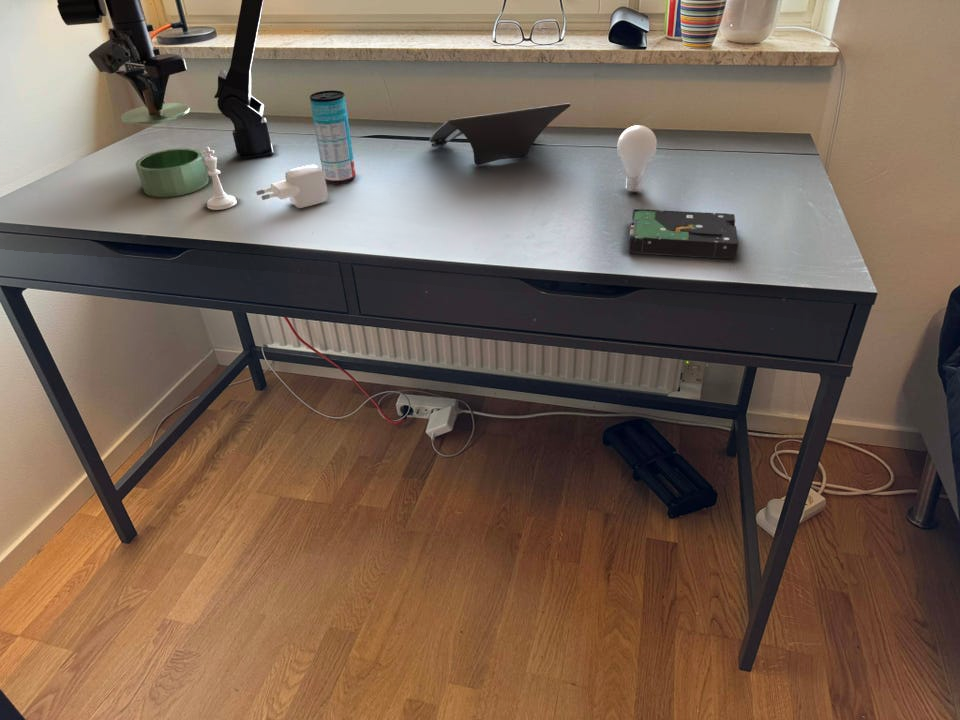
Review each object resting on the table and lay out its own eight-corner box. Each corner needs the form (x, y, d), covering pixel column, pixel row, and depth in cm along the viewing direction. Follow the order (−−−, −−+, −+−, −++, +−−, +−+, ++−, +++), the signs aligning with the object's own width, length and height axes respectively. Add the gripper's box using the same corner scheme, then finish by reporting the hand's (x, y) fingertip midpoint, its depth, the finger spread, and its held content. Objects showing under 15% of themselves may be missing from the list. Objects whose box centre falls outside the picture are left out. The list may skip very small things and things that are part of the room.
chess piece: (210, 199, 126) (195, 143, 121) (239, 197, 127) (225, 141, 121) (204, 210, 122) (188, 152, 117) (233, 208, 123) (219, 150, 117)
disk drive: (731, 230, 108) (630, 224, 111) (734, 213, 106) (632, 207, 109) (736, 261, 100) (627, 254, 103) (739, 243, 98) (629, 236, 101)
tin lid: (171, 105, 146) (164, 79, 144) (202, 115, 139) (195, 87, 136) (111, 120, 139) (102, 92, 136) (141, 131, 132) (132, 103, 129)
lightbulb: (654, 186, 123) (661, 121, 117) (649, 200, 118) (656, 133, 112) (617, 183, 125) (622, 119, 119) (610, 197, 120) (615, 131, 114)
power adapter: (268, 219, 118) (260, 185, 115) (258, 210, 122) (250, 176, 118) (331, 202, 123) (325, 169, 120) (320, 194, 126) (314, 161, 123)
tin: (189, 170, 140) (182, 144, 137) (220, 183, 133) (213, 156, 130) (133, 187, 133) (124, 161, 130) (162, 202, 126) (154, 174, 124)
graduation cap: (534, 163, 152) (527, 118, 150) (577, 143, 130) (569, 90, 128) (428, 179, 146) (420, 133, 145) (455, 162, 124) (445, 107, 123)
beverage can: (362, 175, 133) (350, 91, 125) (344, 186, 129) (331, 100, 120) (335, 171, 135) (322, 89, 127) (317, 182, 131) (302, 98, 123)
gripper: (57, 25, 128) (88, 114, 137) (120, 32, 120) (149, 127, 129) (112, 14, 136) (138, 99, 145) (176, 20, 127) (199, 110, 136)
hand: (154, 109), depth 138 cm, fingers closed on tin lid, 2 cm apart
